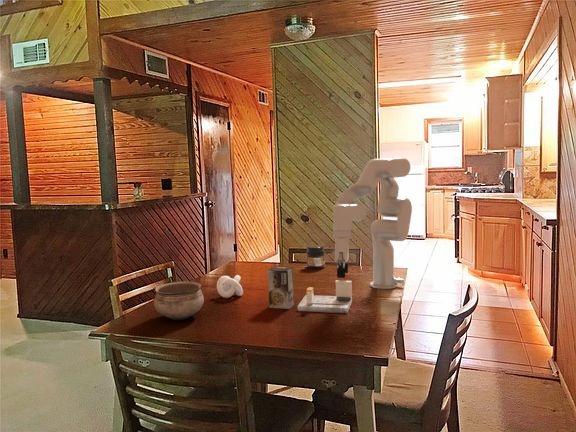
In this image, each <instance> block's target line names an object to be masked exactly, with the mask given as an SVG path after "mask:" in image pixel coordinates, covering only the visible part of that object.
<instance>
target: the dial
mask: <svg viewBox="0 0 576 432" xmlns="http://www.w3.org/2000/svg"><path fill="white" fill-rule="evenodd" d="M352 289H353V286H352V280H338V279H336V280H335V296H336V297H337V299H339V300H349V299H351V297H352V298H353V290H352Z"/></svg>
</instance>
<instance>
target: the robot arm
mask: <svg viewBox="0 0 576 432" xmlns="http://www.w3.org/2000/svg"><path fill="white" fill-rule="evenodd" d="M410 172H411V163H410V161H409V159H408V158H406V157H396V158H395V157H393V158H390V157H388V158H387V157H386V158H372V159H369V160H368V161H367V163H366V164H365V166H364V168H363V170H362V172H361V174H360V176H359V177H358V179H357V181H356V182H355V183H353V184H352V185H350V186H349V187H348V188H346V189H344V191H343V192H342V193H340V195H339V196H338V198H337V200H336V202H335V203H334V206H333V209H332V212H333V220H332V221H333V223H332V225H333V231H332V232H333V234H332V235H333V236H332V237H333V239H335V242H334V246H335V247H334V262H335V263H337V267H336V277H337V278H338V279H339V278H340V279H345V278H346V274H348V273H349V263H348V260H349V257H350V256H349V255H350V254H349V253H350V239H352V238H353V237H352V236H353V233H352V231H353V227H352V226H353V224H352V222H353V221H354V222H360V221H363V220H364V219H365V218H366V217H367V214H368V209H367V207H366V205H364V204H363V203H359V202H354V201H357V200H358V199H361V198H364V197H367V196H369V195H372V194H374V192H375V190H376V188H377V187H378V184H379V186H380V188H379V196H378V202H377V209H376V210H377V214H378V215H379V216H381V217H384V218H383V219H381V218H380V219H379V218H378V219H376V220H373V221H372V222H371V225H370V235H371V240H372V241H371V242H372V275H373V277H372V281H371V282H370V283H369V286H370V287H371V288H374V289H379V290H388V289H389V290H391V289H394V288H397V287H398V284H404V278H400V277H398V278H397V277H395V273H394V272H395V269H394V267H395V265H394V264H395V263H394V262H395V259H394V256H395V255H394V254H395V253H394V251H395V250H394V246H393V244H392V243H391V242H392V241H394V242H404V241H405V240H407V238H408V236H409V232H410V226H411V219H412V212H413V206H412V203H411V200H410V199H409V198H407V197H406V196H405V197H403V196H399V187H400V186H399V185H398V182H397V181H396V179H395V178H405V177H406V176H408V175H409V173H410ZM385 218H397V219H385Z"/></svg>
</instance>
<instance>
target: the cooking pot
mask: <svg viewBox="0 0 576 432" xmlns="http://www.w3.org/2000/svg"><path fill="white" fill-rule="evenodd" d="M201 287H202V284H201V283H199V282H195V281H174V282H169V283H168V282H167V283H164V284H161V285H158V286H157V287H155V292H156V293H155V296H154V301H153V303H154V304H153V305H154V308H155V310H156V312H157V313H159V314H160V315H161V316H163V317H166V318H168V319H170V320H173V321H184V320H187V319H188V318H190V317H192V316H193V315H195V314H196V313H197V312H199V310H201V308H202V307H203V304H204V302H205V300H204V299H205V298H204V294H203V291H202V289H201Z"/></svg>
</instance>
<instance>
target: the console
mask: <svg viewBox="0 0 576 432" xmlns="http://www.w3.org/2000/svg"><path fill="white" fill-rule="evenodd" d="M313 296H314V301H313V303H312V304H307V294H305V295H304V297H303V298H302V300H301V301H299V304H298V305H297V312H310V313H311V312H314V313H315V312H316V313H333V314H334V313H335V314H339V313H340V314H348V313H349V310H350V307H351V305H352V302H353V296H352V297H351V299H349V300H339V299H337V297H336V295H314V294H313Z"/></svg>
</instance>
